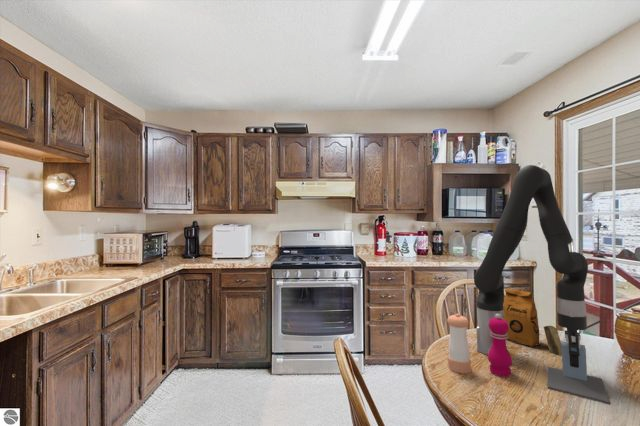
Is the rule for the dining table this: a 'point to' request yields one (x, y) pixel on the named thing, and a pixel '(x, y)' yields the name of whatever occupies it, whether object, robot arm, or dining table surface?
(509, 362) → the pepper mill
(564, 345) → the block
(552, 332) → the rock
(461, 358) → the pepper shaker
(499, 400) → the dining table surface
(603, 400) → the mat
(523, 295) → the coffee package
